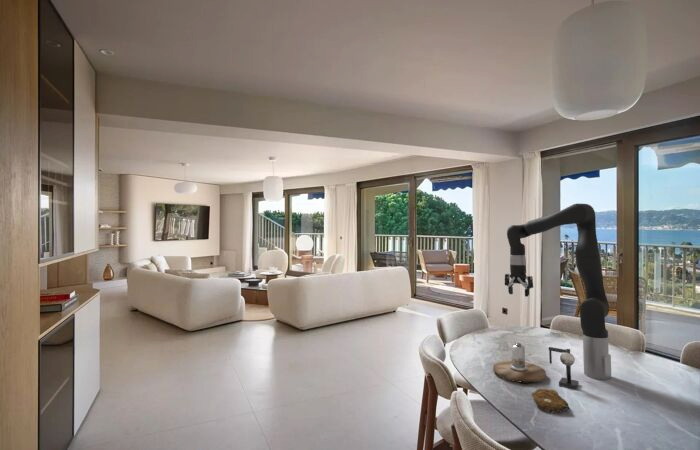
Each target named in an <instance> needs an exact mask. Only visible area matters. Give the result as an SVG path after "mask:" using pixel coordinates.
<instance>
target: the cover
mask: <svg viewBox="0 0 700 450" xmlns="http://www.w3.org/2000/svg"><path fill="white" fill-rule="evenodd" d="M525 352H526V347H525V345H523V344H522V343H520V342H515V343H514V344H511V361H512V364H510V368H511V369H512V370H514V371H519V372H525V371H527V366H526V365H525V362H526V353H525Z"/></svg>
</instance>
